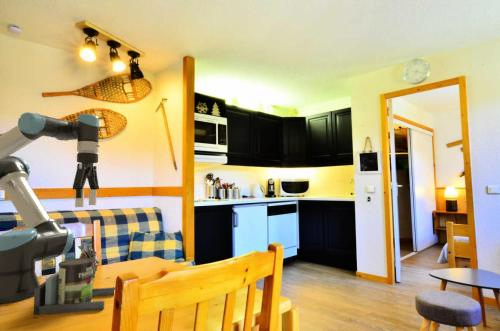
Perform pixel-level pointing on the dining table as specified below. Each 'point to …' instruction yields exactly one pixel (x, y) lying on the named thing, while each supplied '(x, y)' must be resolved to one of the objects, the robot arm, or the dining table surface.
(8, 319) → the dining table surface
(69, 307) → the lane
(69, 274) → the coffee can
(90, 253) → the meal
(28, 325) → the dining table surface
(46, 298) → the pusher plate
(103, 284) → the dining table surface
